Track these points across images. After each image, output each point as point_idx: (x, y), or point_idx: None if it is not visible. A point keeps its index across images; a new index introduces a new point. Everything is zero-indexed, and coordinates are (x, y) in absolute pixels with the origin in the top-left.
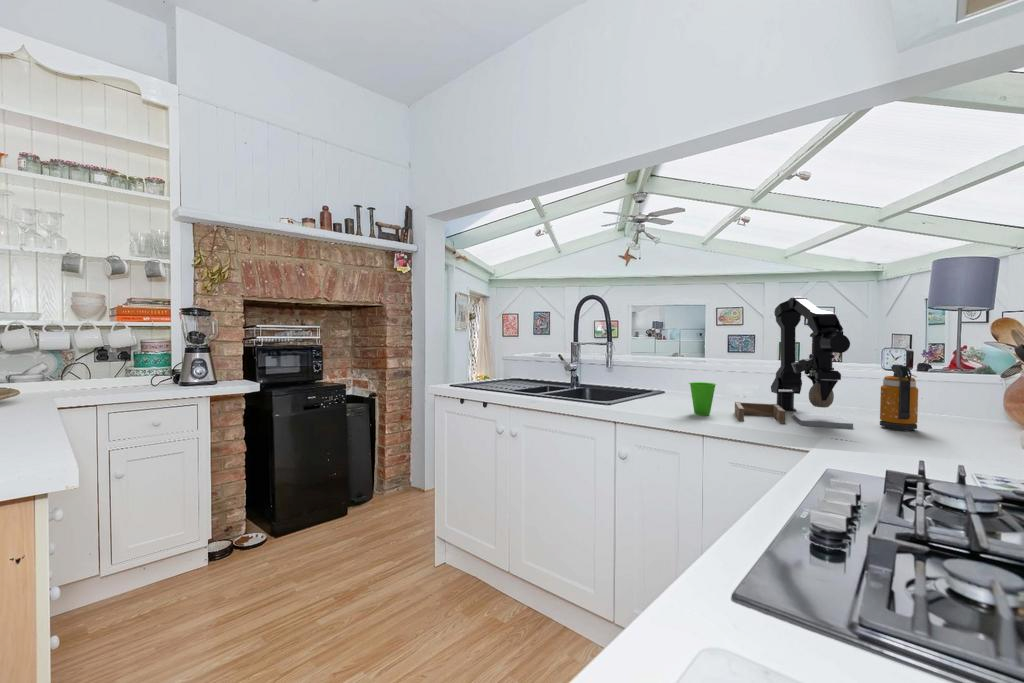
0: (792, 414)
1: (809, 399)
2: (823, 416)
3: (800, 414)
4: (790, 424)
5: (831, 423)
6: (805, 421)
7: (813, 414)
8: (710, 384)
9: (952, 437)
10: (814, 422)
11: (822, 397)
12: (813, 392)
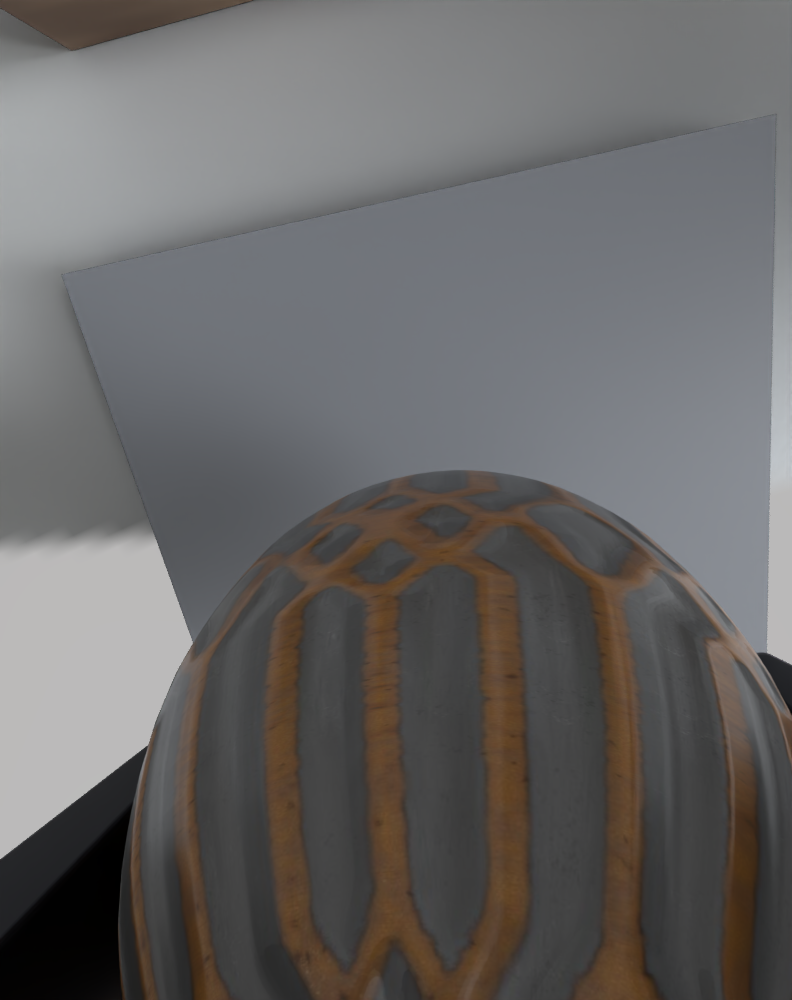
0: (705, 131)
1: (400, 477)
2: None
3: (660, 267)
4: (58, 133)
5: (189, 609)
6: (92, 334)
7: (749, 457)
8: None
9: None
10: (130, 440)
11: (133, 768)
12: (186, 673)
